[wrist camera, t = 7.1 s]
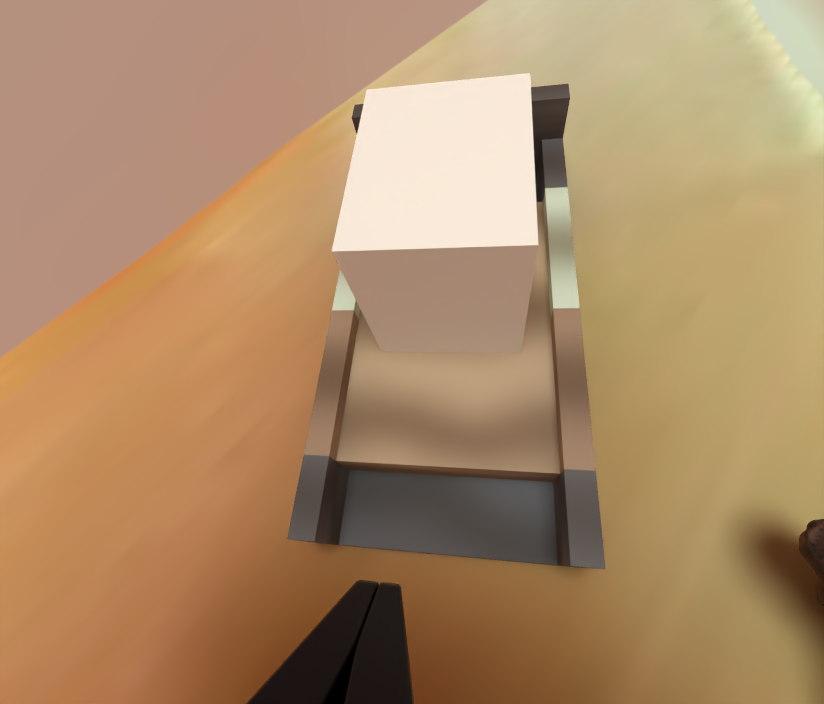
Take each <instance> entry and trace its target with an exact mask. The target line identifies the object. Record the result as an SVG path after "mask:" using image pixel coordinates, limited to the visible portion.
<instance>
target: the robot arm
mask: <svg viewBox="0 0 824 704" xmlns="http://www.w3.org/2000/svg"><path fill="white" fill-rule="evenodd" d="M247 704H414V699H413V690H412V681H411V673H410V664H409V655H408V646H407V637H406V628H405V620H404V611H403V602H402V593H401V587H400V585H399V584H393V583H380V584H378V583H377V582H374V581H365V580H359V581H357V582H356V583H355V584H354V585H353V586H352V587H351V588H350V589H349V590H348V592H347V593H346V594H345V595H344V596H343V597H342V598H341V599H340V600H339V601H338V603H337V604H336V605H335V606H334V607H333V608H332V609H331V610H330V611H329V613H328V614H327V615H326V616H325V617H324V618H323V619H322V620H321V621H320V623H319V624H318V625H317V626H316V627H315V628H314V629H313V630H312V631H311V633H310V634H309V635H308V636H307V637H306V638H305V639H304V640H303V641H302V643H301V644H300V645H299V646H298V647H297V648H296V649H295V650H294V651H293V653H292V654H291V655H290V656H289V657H288V658H287V659H286V660H285V661H284V662H283V664H282V665H281V666H280V667H279V668H278V669H277V670H276V671H275V672H274V674H273V675H272V676H271V677H270V678H269V679H268V680H267V681H266V682H265V684H264V685H263V686H262V687H261V688H260V689H259V690H258V691H257V692H256V694H255V695H254V696H253V697H252V698H251V699H250V700H249V701H248V702H247Z"/></svg>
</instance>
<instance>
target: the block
mask: <svg viewBox="0 0 824 704" xmlns="http://www.w3.org/2000/svg"><path fill="white" fill-rule="evenodd" d="M537 250H538V227H537V206H536V185H535V164H534V143H533V122H532V100H531V79H530V73H526V74H516V75H507V76H497V77H487V78H477V79H467V80H457V81H448V82H438V83H428V84H418V85H408V86H399V87H389V88H379V89H369V90H367V91H366V96H365V100H364V105H363V109H362V114H361V119H360V123H359V128H358V133H357V137H356V142H355V146H354V151H353V156H352V160H351V165H350V169H349V174H348V179H347V183H346V188H345V192H344V197H343V202H342V206H341V211H340V216H339V220H338V225H337V229H336V234H335V239H334V243H333V248H332V253H333V255H334V257H335V259H336V261H337V263H338V265H339V267H340V269H341V271H342V273H343V275H344V277H345V279H346V281H347V283H348V285H349V287H350V289H351V291H352V293H353V295H354V297H355V299H356V301H357V303H358V305H359V307H360V309H361V311H362V313H363V315H364V317H365V319H366V321H367V323H368V325H369V327H370V329H371V331H372V333H373V335H374V337H375V339H376V341H377V343H378V345H379V347H380V349H381V351H382V352H436V353H510V354H521V349H522V343H523V337H524V330H525V324H526V318H527V312H528V306H529V300H530V293H531V287H532V281H533V275H534V269H535V263H536V257H537Z"/></svg>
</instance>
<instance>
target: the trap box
mask: <svg viewBox="0 0 824 704" xmlns="http://www.w3.org/2000/svg"><path fill="white" fill-rule="evenodd" d="M531 100H532V122H533V143H534V164H535V185H536V206H537V227H538V250H537V257H536V263H535V269H534V275H533V281H532V287H531V293H530V300H529V306H528V312H527V318H526V324H525V330H524V337H523V343H522V349H521V354H510V353H436V352H382V351H381V349H380V347H379V345H378V343H377V341H376V339H375V337H374V335H373V333H372V331H371V329H370V327H369V325H368V323H367V321H366V319H365V317H364V315H363V313H362V311H361V309H360V307H359V305H358V303H357V301H356V299H355V297H354V295H353V293H352V291H351V289H350V287H349V285H348V283H347V281H346V279H345V277H344V275H343V273H342V271H341V269H340V272H339V277H338V283H337V288H336V293H335V298H334V303H333V308H332V313H331V318H330V323H329V329H328V334H327V339H326V344H325V349H324V354H323V359H322V364H321V369H320V375H319V380H318V385H317V390H316V395H315V400H314V405H313V410H312V415H311V421H310V426H309V431H308V436H307V441H306V446H305V451H304V456H303V461H302V467H301V472H300V477H299V482H298V487H297V492H296V497H295V502H294V507H293V513H292V518H291V523H290V528H289V533H288V538H287V539H290V540H299V541H307V542H316V543H326V544H337V545H347V546H358V547H368V548H379V549H390V550H400V551H411V552H422V553H432V554H443V555H453V556H464V557H475V558H485V559H496V560H507V561H517V562H528V563H538V564H549V565H560V566H570V567H581V568H597V569H605V560H604V550H603V540H602V530H601V520H600V510H599V500H598V490H597V480H596V469H595V459H594V449H593V439H592V429H591V419H590V409H589V399H588V389H587V379H586V369H585V358H584V348H583V338H582V328H581V318H580V308H579V298H578V288H577V278H576V268H575V258H574V247H573V237H572V227H571V217H570V207H569V197H568V187H567V177H566V167H565V157H564V147H563V134H564V128H565V122H566V117H567V111H568V106H569V100H570V94H569V85H568V84H561V85H551V86H541V87H531ZM363 105H364V104H359V105H355V106H354V111H353V115H352V120H353V123H354V127H355V130H356V133H358V128H359V123H360V119H361V114H362V109H363Z"/></svg>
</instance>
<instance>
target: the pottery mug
mask: <svg viewBox="0 0 824 704" xmlns="http://www.w3.org/2000/svg"><path fill="white" fill-rule="evenodd" d="M799 551H800V553H801V554H802V556H803V557H804V558H805V559H806V560H807V562H808V563H809V564H810V565H811V566H812V568H813V569H814V571H815V572H816V574H817V575H818V578H819V580H818V585H817V600H818V601H819V603H820V604H822V605H824V519H820V520H813V521H811V522H809V523H808V525H807V529H806V530H805V531H804V532H803V533H802V534H801V535H800V537H799Z"/></svg>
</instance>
